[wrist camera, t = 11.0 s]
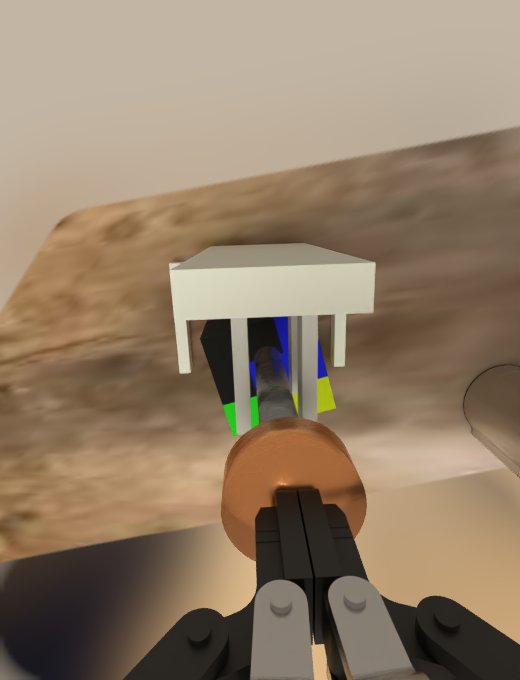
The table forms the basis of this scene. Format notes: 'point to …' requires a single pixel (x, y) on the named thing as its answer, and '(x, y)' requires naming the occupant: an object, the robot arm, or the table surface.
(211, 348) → the puzzle toy
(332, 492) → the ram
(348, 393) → the table surface
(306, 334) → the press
